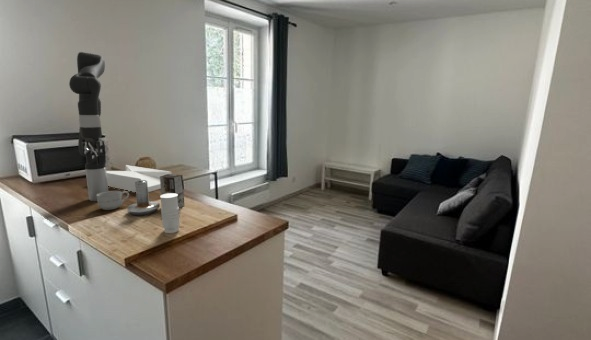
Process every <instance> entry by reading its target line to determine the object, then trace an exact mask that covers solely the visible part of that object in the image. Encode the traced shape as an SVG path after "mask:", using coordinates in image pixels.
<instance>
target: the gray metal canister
mask: <svg viewBox="0 0 591 340" xmlns="http://www.w3.org/2000/svg"><path fill="white" fill-rule="evenodd" d="M135 188H136V193H135V196H136V203H137V207H147V206H149V201H150V198H149V197H150V195H149V192H148V185H147V180H139V181H136V182H135Z"/></svg>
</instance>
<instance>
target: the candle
mask: <svg viewBox="0 0 591 340" xmlns="http://www.w3.org/2000/svg"><path fill="white" fill-rule="evenodd" d="M177 196H178V194H176V193H168V194H163V195H161V194H160V195H159V198H160V204H161V206H160V207H161V208H160V214H161V215H160V216H161V220H162V222H161V223H162V228H163V232H164V233H165V234H173V233H174V234H175V233H177V232H179V231H180V225H181V224H180V223H181V221H180V217H181V213H180V208H179V207H178V200H177Z"/></svg>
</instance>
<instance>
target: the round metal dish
mask: <svg viewBox="0 0 591 340" xmlns="http://www.w3.org/2000/svg"><path fill="white" fill-rule="evenodd" d="M160 207H161V206H160V202H158V201H150V200H149V206H147V207H137V202H134V203H131V204H129V205H128V206H127V208H126V209H127V212H129V213H130V215H131V216H134V217H145V216H151V215H153V214H156V213H157V212H159V211H158V209H159V208H160Z"/></svg>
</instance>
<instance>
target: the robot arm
mask: <svg viewBox="0 0 591 340" xmlns="http://www.w3.org/2000/svg"><path fill="white" fill-rule="evenodd" d="M76 65H77V73H75V74H73V76H71V77H70V79H69V84H68V85H69V88H70V90H71V92H73V93H74V94H77V95H78V101H77V110H78V122H79V123H78V125H79V131H78V132H79V133H78V144H77V145H78V147H77V148H78V151H79V154H80V155H81V156H83V157H85V159H86V160H85V161H86V163H85V164H84V168H85V169H84V170H85V176H86V183H87V185H86V186H87V193H88V199H89V201H90V202H98V201H97V196H96V195H97V194H99V193H103V192H108V191H109V187H108V182H107V174H106V171H107V167H106V164H107V163H106V162H107V157H106V146H105V144H106V143H105V141H104V139H102V138H101V137H102V136H103V133H102V124H101V123H102V122H101V118H100V117H101V114H102V102H101V98H100V93H101V89H102V88H101V87H102V84H101V82H100V80H99V78H100V77H101V76H102V75H103V74H104V73H105V68H106V64H105V59H104V57H103V56H102V55H100V54H95V53H90V52H84V51H83V52H82V51H79V52H78V53H77V56H76Z"/></svg>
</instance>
